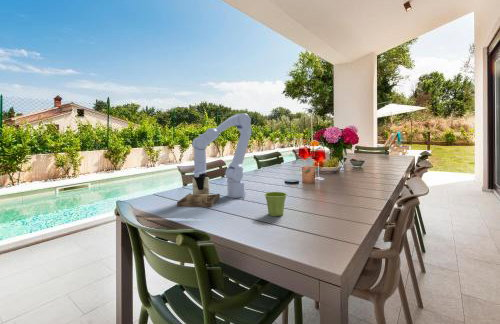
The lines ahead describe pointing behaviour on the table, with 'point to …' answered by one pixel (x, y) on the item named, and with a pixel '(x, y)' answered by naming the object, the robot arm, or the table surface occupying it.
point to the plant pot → (275, 203)
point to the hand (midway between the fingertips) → (201, 189)
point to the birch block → (205, 187)
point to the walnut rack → (210, 202)
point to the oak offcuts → (197, 198)
